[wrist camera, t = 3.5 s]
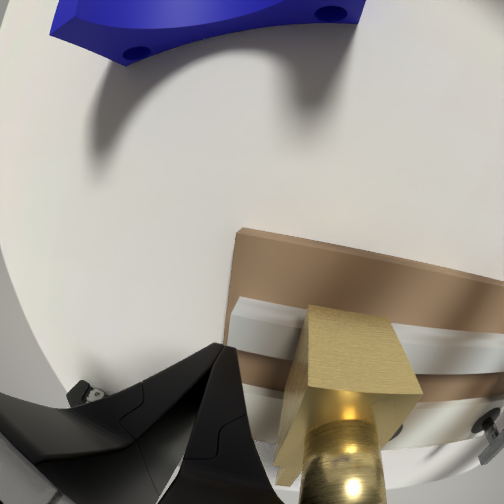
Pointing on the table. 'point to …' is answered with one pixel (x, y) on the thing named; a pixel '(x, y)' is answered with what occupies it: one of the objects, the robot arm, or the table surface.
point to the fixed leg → (491, 441)
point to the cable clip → (181, 21)
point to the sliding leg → (343, 407)
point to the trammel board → (373, 303)
